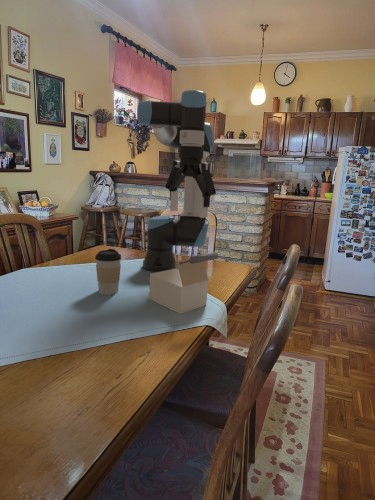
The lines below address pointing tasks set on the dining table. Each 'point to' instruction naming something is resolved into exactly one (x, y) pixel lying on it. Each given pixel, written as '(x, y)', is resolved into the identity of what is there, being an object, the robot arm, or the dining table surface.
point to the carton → (177, 291)
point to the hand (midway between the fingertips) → (188, 214)
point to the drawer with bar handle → (194, 268)
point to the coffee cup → (108, 271)
